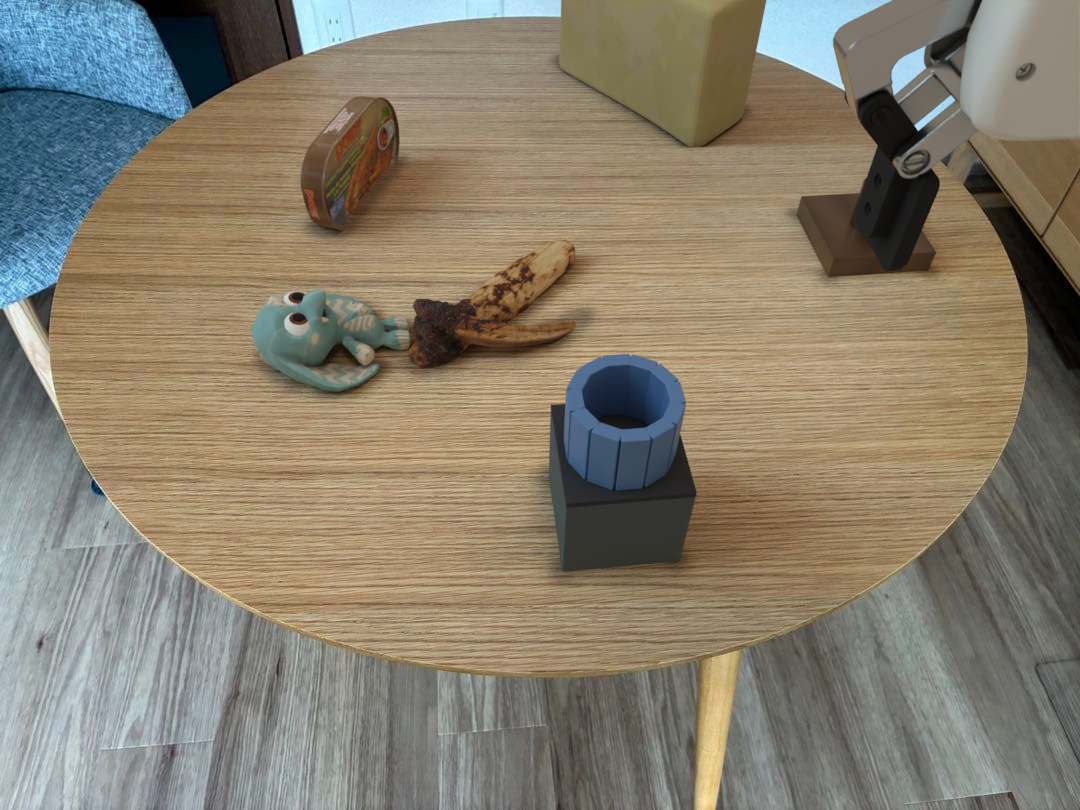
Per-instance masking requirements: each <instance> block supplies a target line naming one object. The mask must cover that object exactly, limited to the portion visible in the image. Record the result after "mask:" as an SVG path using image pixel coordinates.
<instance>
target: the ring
mask: <svg viewBox="0 0 1080 810" xmlns="http://www.w3.org/2000/svg"><path fill="white" fill-rule="evenodd" d="M564 404H565V421H564V445H565V452H566V458H567V460H568V463H569V464H570V465H571V466H572V467H573V468H574V469H575V470H576V471H577V472H578V473H579V474H580V475H581V477H582V478H583V479H584V480H585V479H587V481H588V482H590V483H593V484H596V485H599V486H602V487H604V488H607V489H610V490H613V489H614V486H615V490H616V491H619V490H632V489H642V488H643V486H644V487H647V486H649V485H650V484H652V483H653V482H655V481H657V480H658V479H660V478H661V477H663V476H665V474H666V473H668V471H669V469H670V467H671V464H672V462H673V460H674V457H675V455H676V451H677V446H678V441H679V437H680V435H681V433H682V432H681V431H682V427H683V421H684V416H685V412H686V409H687V408H686V407H687V406H686V405H687V401H686V396H685V394H684V390H683V387H682V383H681V381H679V378H678V377H677V376H676V375H674V374H673V373H672V372H671V371H670V370H669V369H667V368H666V367H665V366H664V365H663V364H662V363H659V362H658V361H657V360H653V359H651V358H648V357H647V358H646V357H643V356H640V355H637V354H633V353H632V354H631V355H630V353H622V354H621V353H620V354H606V355H602V357H601V356H598V357H597V358H595V359H593V360H590V361H589V362H587V363H585V364H583V365H581V366H580V367H579V368H578V369H577V370H575V372H574V374H573V376H572V378H571V379H570V381H569V383H568V385H567V386H566V390H565V402H564ZM609 415H626V416H629V417H632V418H635V419H638V420H641V421H644V422H645V423H646V424H647V425H648V427H646V428H635V429H619V428H616V427H613V426H610V425H607V424H604V423H601V422H599V421H598V420H597V419H598V418H600V417H602V416H609Z"/></svg>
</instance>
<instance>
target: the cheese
mask: <svg viewBox="0 0 1080 810" xmlns="http://www.w3.org/2000/svg"><path fill="white" fill-rule="evenodd" d="M766 5H767V0H560V33H559V56H558V57H559V59H558V61H559V62H558V64H559V67H560V69H561V70H562V71H563V72H565V73H567V74H569V75H570V76H572V77H573V78H575V79H576V80H579V81H580V82H582V83H584V84H586V85H587V86H589V87H591V88H592V89H595V90H596V91H598V92H600V93H602V94H603V95H605V96H607V97H609V98H610V99H612V100H614V101H616V102H618V103H619V104H621V105H623V106H624V107H626V108H628V109H629V110H631V111H633V112H635V113H637V114H638V115H639V116H642V117H643V118H645V119H647V120H648V121H649V122H651V123H652V124H655V125H656V126H658V127H659V128H660V129H662V130H663V131H665V132H667V133H668V134H670V135H671V136H673V138H676V139H677V140H678V141H680V142H681V143H683V144H684V145H686V146H687V147H689V148H691V149H692V148H693V149H694V148H701V147H703V146H705V145H706V144H708V143H710V142H711V141H713V139H714V140H715V138H716V137H718V136H719V135H721V134H722V133H724V132H725V131H726V130H728V129H730V128H732V126H733V125H735V124H736V123H738V122H739V121H740V120H741V118H742V117H743V115H744V113H745V107H746V103H747V98H748V94H749V89H750V83H751V79H752V78H751V77H752V74H753V68H754V64H755V58H756V54H757V49H758V44H759V39H760V35H761V29H762V26H763V25H762V24H763V20H764V14H765V11H766V10H765V9H766Z"/></svg>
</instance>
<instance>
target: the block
mask: <svg viewBox="0 0 1080 810" xmlns="http://www.w3.org/2000/svg"><path fill="white" fill-rule="evenodd" d="M597 420H598V421H599V422H601V423H604V424H607V425H610V426H613V427H616V428H619V429H635V428H646V427H648V425H647V424H646V423H645V422H644V421H641V420H638V419H635V418H632V417H629V416H626V415H609V416H602V417H600V418H598V419H597ZM549 421H550V422H549V424H550V425H549V451H548V452H549V457H548V479H549V480H548V481H549V487H550V495H551V502H552V511H553V517H554V524H555V529H556V538H557V544H558V551H559V552H558V553H559V558H560V559H559V560H560V564H561V565H560V566H561V571H562V572H575V571H586V570H596V569H609V568H618V567H619V568H620V567H629V566H630V567H631V566H640V565H641V566H642V565H653V564H662V563H664V564H665V563H672V562H674V563H675V562H680V561H681V557H682V553H683V549H684V546H685V541H686V537H687V534H688V530H689V525H690V521H691V517H692V513H693V509H694V505H695V503H696V502H695V501H696V497H697V493H698V492H697V488H696V484H695V482H694V477H693V474H692V470H691V467H690V463H689V460H688V457H687V452H686V449H685V446H684V442H683V438H682V435H681V434H680V437H679V441H678V446H677V451H676V455H675V457H674V460H673V462H672V464H671V467H670V469H669V471H668V473H666V474H665V476H663V477H661V478H660V479H658V480H657V481H655V482H653V483H652V484H650V485H649V486H647V487H644V486H643V488H642V489H632V490H619V491H616V490H615V486H614V489H613V490H610V489H607V488H604V487H602V486H599V485H596V484H593V483H590V482H588V481H587V479H585V480H584V479H583V478H582V477H581V475H580V474H579V473H578V472H577V471H576V470H575V469H574V468H573V467H572V466H571V465H570V464H569V463H568V460H567V458H566V452H565V445H564V421H565V403H560V404H559V403H556V404H550V420H549Z"/></svg>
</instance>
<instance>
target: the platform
mask: <svg viewBox="0 0 1080 810" xmlns="http://www.w3.org/2000/svg"><path fill="white" fill-rule="evenodd" d="M866 178H867V176H866V177H865V178H863V182H862V185H861V188H860V191H859V192H852V193H835V194H833V193H832V194H818V195H817V194H816V195H802V196H800V200H799V204H798V208H797V211H796V217H797V219H798V221H799V223H800V225H801V227H802V229H803V231H804V233H805V235H806V237H807V238H808V241H809V242H810V245H811V247H812V248H813V251H814V253H815V254H816V257H817V258H818V260H819V262H820V264H821V266H822V268H823V270H824V272H825V274H826V276H827V278H834V277H835V278H836V277H851V276H867V275H869V276H870V275H881V274H882V275H884V274H885V275H886V274H898V273H899V274H900V273H915V272H929V269H930V267H931V265H932V263H933V261H934V259H935V256H936V253H937V250H936V249H935V248H934V246H933V245H932V243H931V242H930V240H929V239H928V237H927V236H926V234H925V232H924V231H923V230H922V231H921V233H920V236H919V238H918V240H917V243H916V245H915V248H914V250H913V252H912V255H911V257H910V259H909V262H908V264H907V265H906V266H904V267H903V268H902V269H901V270H895V271H885V270H884V269H883V267H882V266H881V264H880V262H879V261H878V259H877V257H876V255H875V254H874V252H873V250H872V248H871V247H870V245H869V243H868V242H867V240H866V239H865V238H863V237H862V235H861V234H860V232H859V230H858V228H857V226H856V221H855V214H856V208H857V204H858V202H859V199H860V196H861V193H862V190H863V187H864V184H865V181H866Z"/></svg>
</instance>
